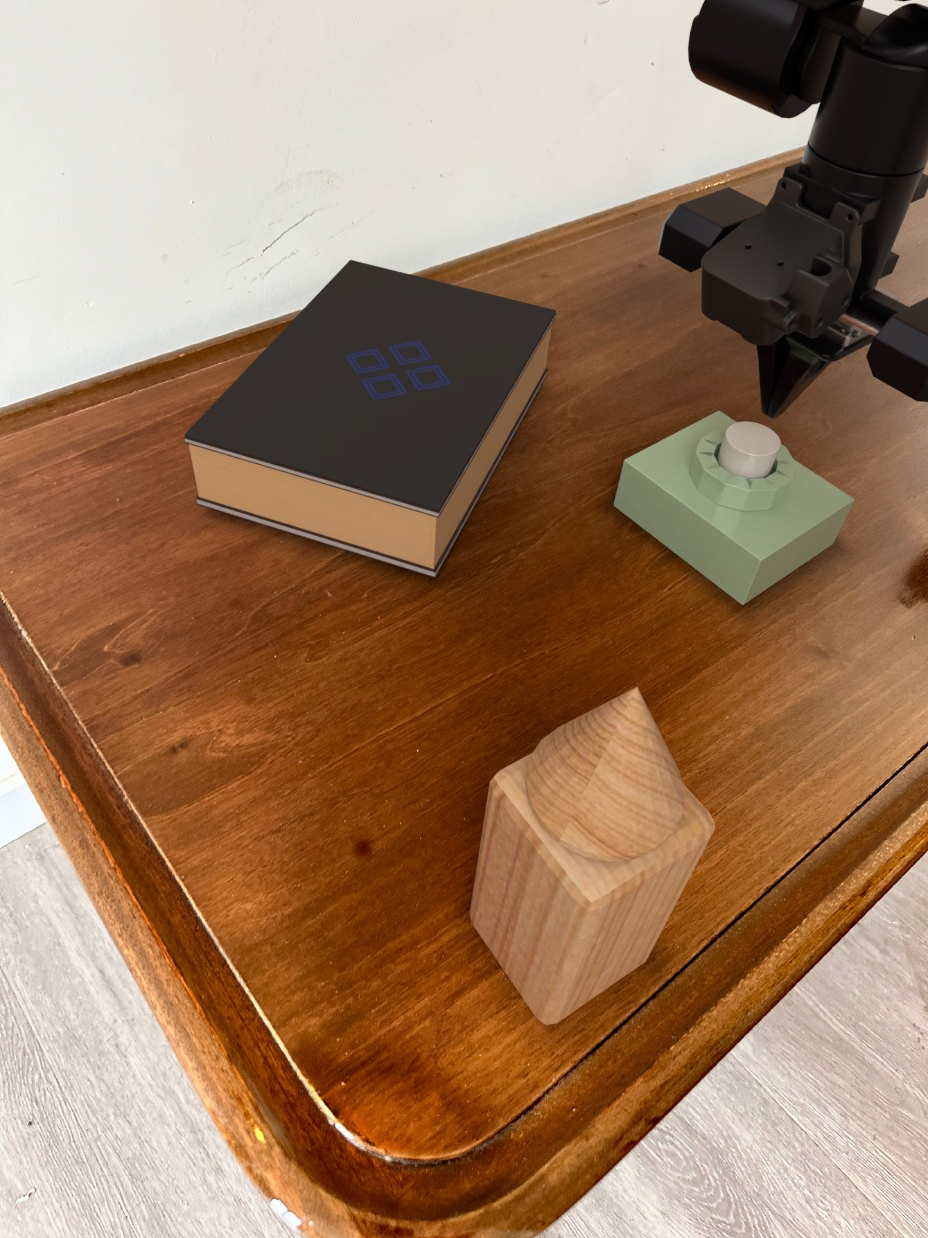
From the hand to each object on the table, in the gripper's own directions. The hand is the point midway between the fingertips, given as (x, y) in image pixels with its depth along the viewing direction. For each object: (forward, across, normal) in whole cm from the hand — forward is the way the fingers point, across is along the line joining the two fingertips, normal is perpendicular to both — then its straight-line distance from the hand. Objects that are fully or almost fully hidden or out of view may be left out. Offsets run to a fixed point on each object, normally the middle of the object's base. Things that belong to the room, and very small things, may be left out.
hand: (771, 414), depth 58 cm
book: (+11, -22, -13) cm, 28 cm away
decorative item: (+11, +14, -29) cm, 34 cm away
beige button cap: (+5, -1, +1) cm, 5 cm away
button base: (+11, -1, +1) cm, 11 cm away
